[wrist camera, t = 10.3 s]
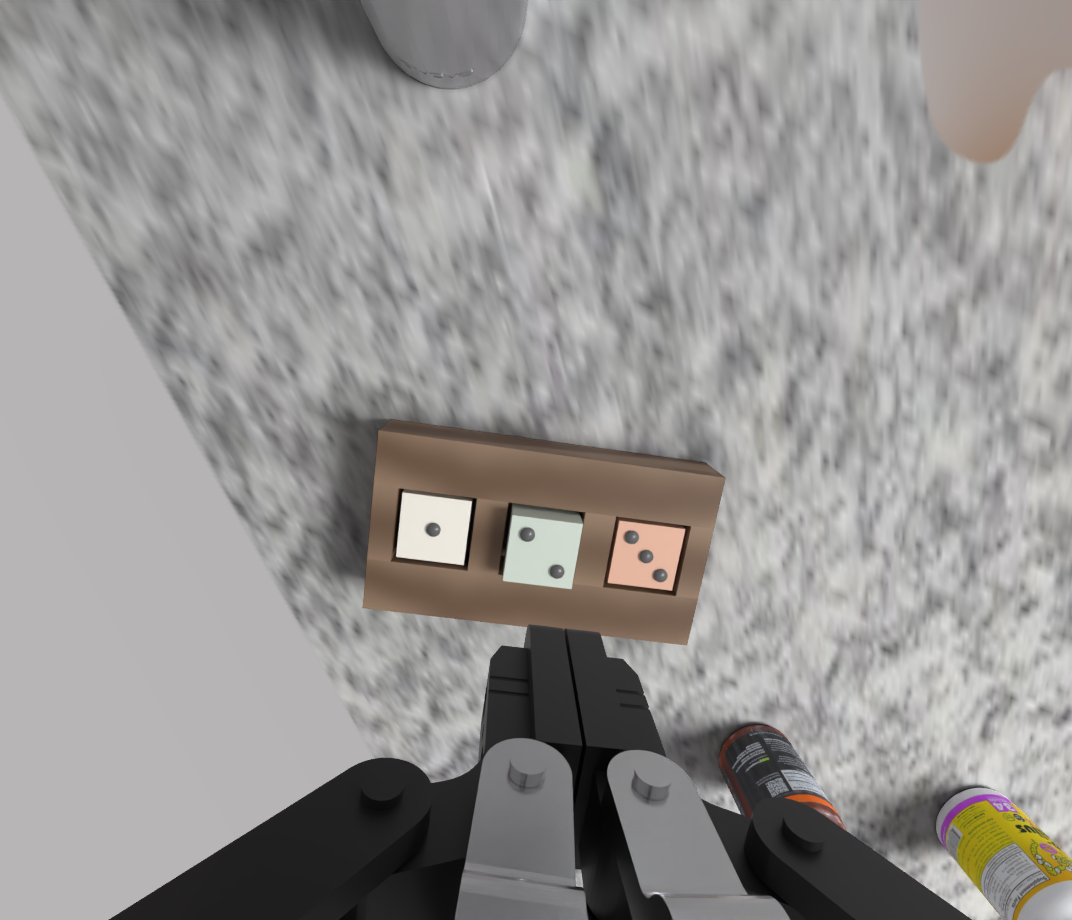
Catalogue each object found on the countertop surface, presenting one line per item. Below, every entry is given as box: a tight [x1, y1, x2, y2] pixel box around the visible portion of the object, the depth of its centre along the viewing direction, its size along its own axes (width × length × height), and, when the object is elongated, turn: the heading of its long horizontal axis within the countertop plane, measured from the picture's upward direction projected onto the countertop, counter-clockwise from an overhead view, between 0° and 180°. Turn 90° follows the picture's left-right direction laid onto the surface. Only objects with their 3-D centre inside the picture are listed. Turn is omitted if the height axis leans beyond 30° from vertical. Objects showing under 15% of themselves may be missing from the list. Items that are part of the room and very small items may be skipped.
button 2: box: [503, 503, 583, 589], centre depth 38 cm, size 4×4×3 cm
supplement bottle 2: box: [936, 788, 1072, 920], centre depth 44 cm, size 7×7×13 cm
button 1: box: [396, 489, 474, 565], centre depth 39 cm, size 4×4×3 cm
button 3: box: [605, 516, 685, 591], centre depth 40 cm, size 4×4×3 cm
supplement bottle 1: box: [719, 725, 846, 830], centre depth 42 cm, size 6×6×11 cm
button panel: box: [363, 419, 725, 645], centre depth 40 cm, size 12×22×4 cm, turn 82°
